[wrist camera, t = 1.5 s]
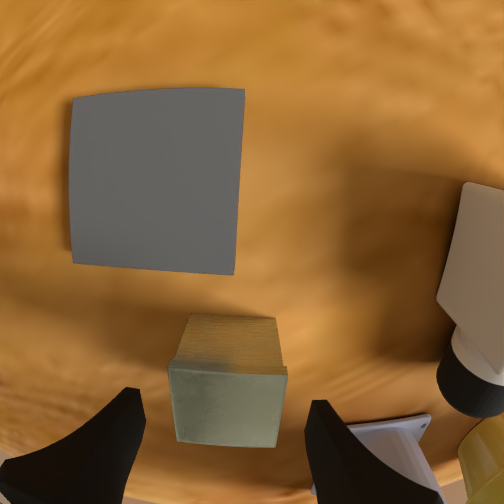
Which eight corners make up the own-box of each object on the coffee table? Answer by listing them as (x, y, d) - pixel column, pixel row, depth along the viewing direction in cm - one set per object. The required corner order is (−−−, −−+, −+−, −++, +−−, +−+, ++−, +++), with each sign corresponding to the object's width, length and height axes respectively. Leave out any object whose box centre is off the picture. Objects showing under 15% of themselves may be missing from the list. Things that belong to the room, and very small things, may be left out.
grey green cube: (270, 384, 17) (275, 447, 12) (191, 379, 17) (176, 441, 12) (277, 316, 16) (288, 375, 11) (189, 311, 16) (167, 367, 11)
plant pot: (467, 469, 22) (497, 525, 13) (422, 464, 21) (455, 539, 11) (529, 404, 20) (572, 455, 10) (499, 385, 18) (557, 453, 9)
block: (235, 261, 16) (233, 275, 14) (90, 252, 15) (73, 263, 14) (245, 98, 13) (244, 89, 12) (92, 104, 13) (73, 98, 11)
